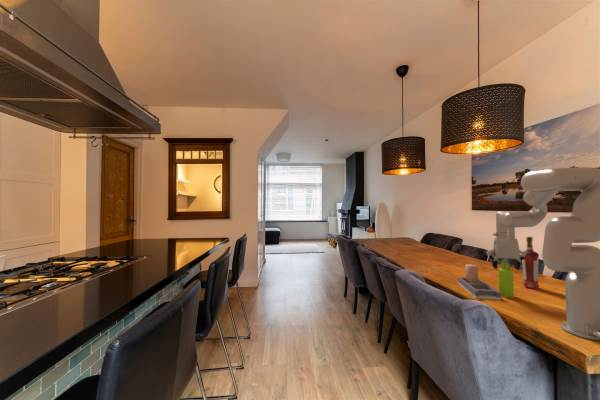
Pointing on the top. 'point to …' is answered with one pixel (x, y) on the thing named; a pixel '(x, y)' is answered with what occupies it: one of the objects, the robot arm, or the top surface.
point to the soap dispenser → (506, 280)
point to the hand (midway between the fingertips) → (506, 268)
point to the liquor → (530, 266)
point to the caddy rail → (477, 284)
